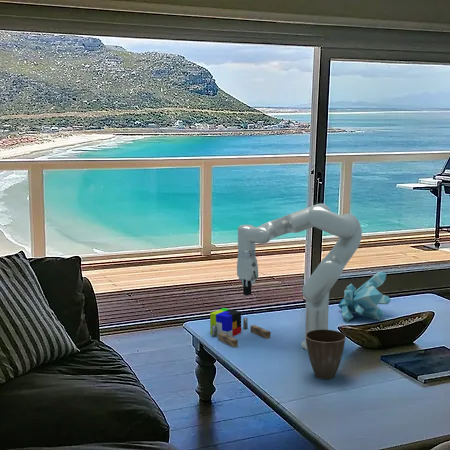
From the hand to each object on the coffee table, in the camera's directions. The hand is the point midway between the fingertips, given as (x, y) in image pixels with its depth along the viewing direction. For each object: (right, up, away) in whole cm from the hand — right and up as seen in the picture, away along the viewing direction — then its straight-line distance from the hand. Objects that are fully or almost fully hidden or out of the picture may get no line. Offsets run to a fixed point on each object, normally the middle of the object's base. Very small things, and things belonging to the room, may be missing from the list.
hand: (247, 294), depth 284 cm
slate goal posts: (-7, -19, +14) cm, 25 cm away
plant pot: (+28, -27, -36) cm, 53 cm away
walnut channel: (-1, -20, +5) cm, 21 cm away
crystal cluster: (+58, -15, +33) cm, 69 cm away
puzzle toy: (-9, -19, +13) cm, 25 cm away
